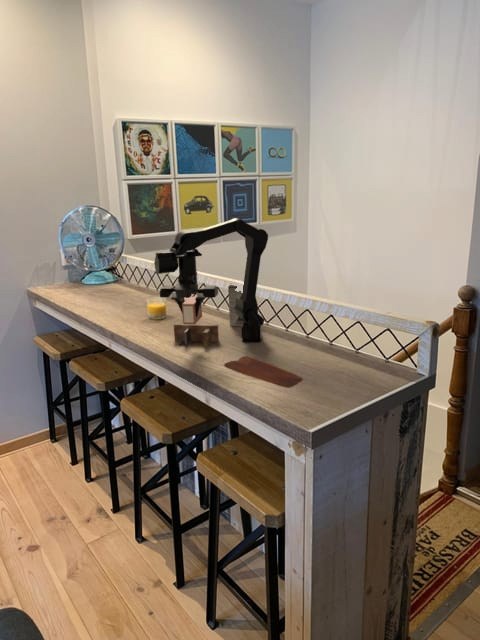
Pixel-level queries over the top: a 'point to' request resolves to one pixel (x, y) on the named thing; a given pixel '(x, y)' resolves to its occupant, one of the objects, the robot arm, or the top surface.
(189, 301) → the block
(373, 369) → the top surface
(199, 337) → the wooden display stand
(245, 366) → the wooden tablet
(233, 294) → the coffee box
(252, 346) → the top surface
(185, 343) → the bookend
